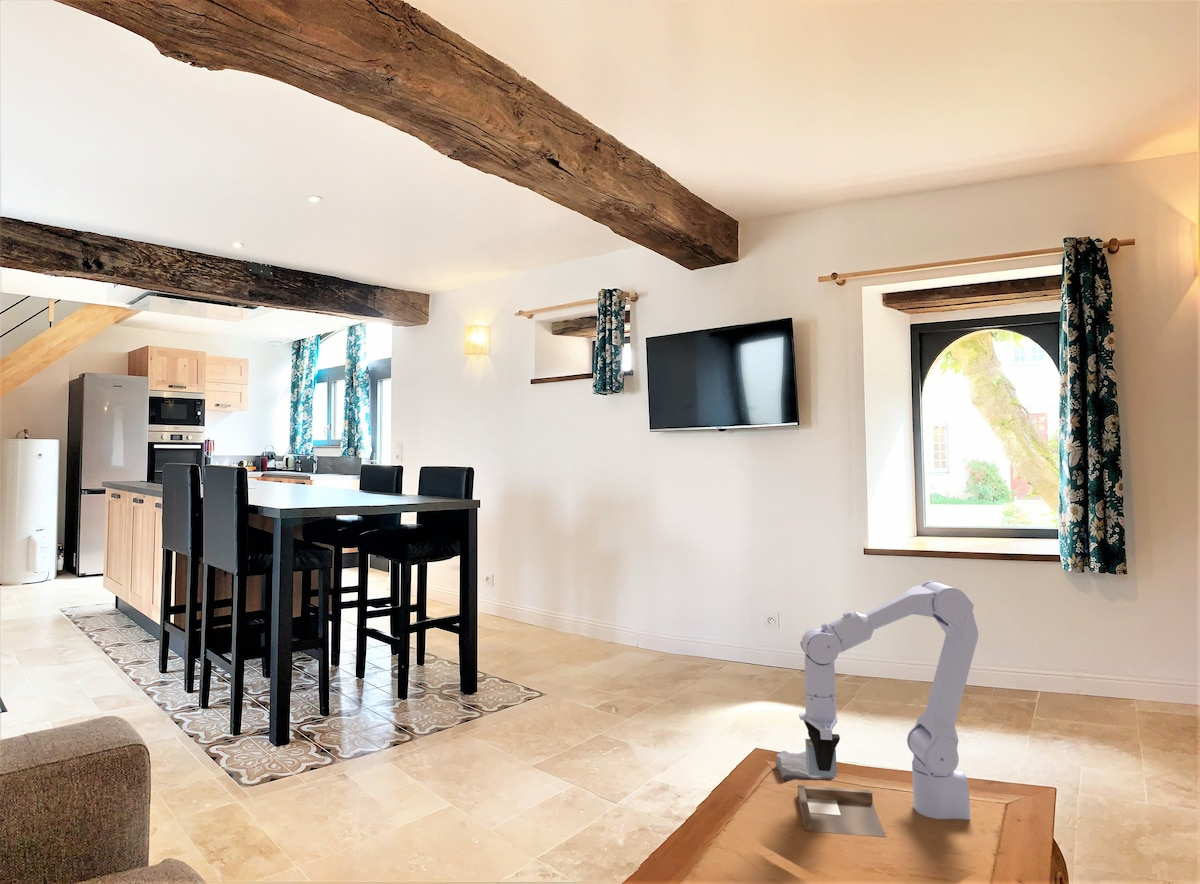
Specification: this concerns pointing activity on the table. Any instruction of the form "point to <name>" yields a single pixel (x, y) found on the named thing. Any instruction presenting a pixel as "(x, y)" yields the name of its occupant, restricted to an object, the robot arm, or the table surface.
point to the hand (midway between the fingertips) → (822, 764)
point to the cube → (812, 762)
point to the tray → (839, 811)
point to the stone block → (794, 766)
